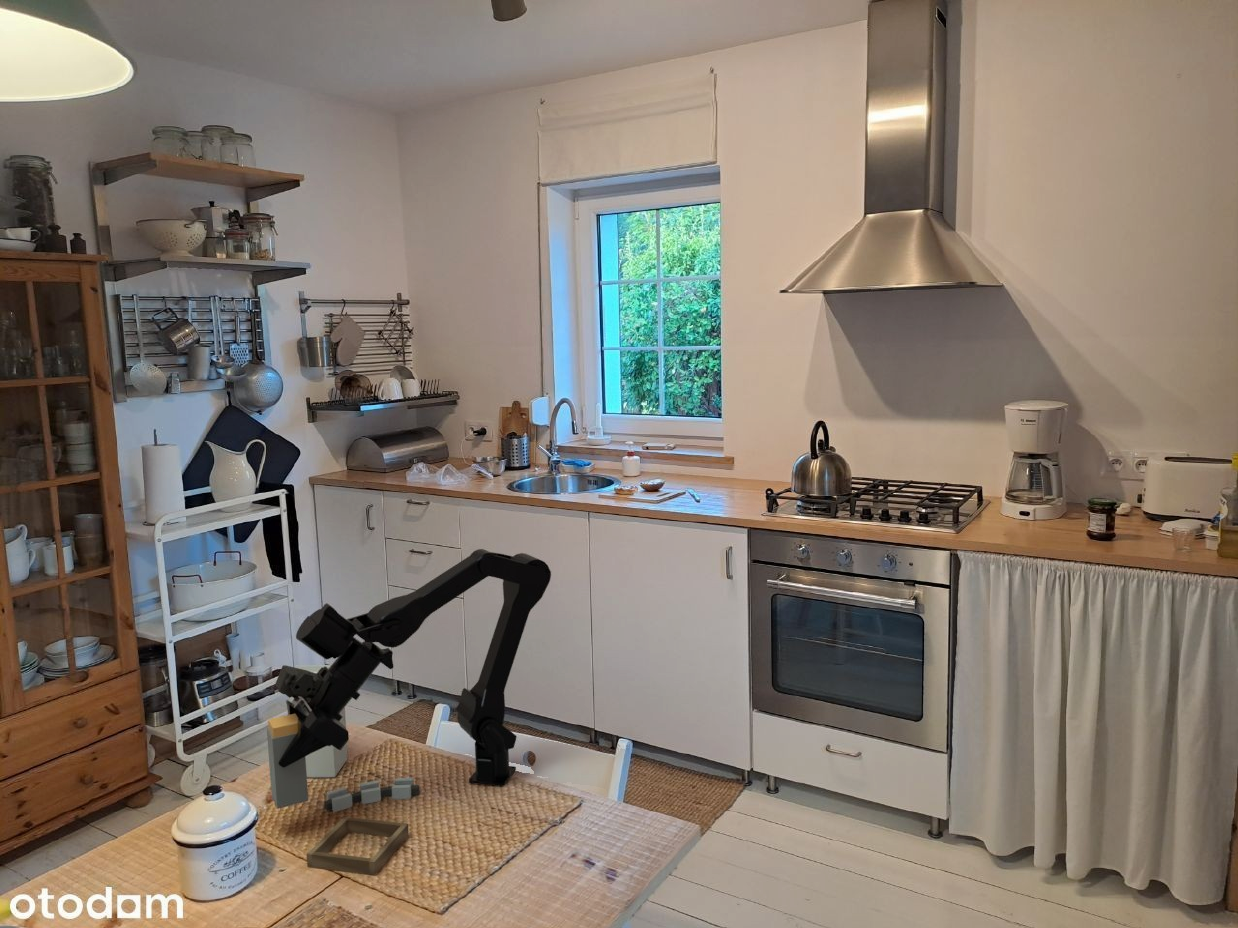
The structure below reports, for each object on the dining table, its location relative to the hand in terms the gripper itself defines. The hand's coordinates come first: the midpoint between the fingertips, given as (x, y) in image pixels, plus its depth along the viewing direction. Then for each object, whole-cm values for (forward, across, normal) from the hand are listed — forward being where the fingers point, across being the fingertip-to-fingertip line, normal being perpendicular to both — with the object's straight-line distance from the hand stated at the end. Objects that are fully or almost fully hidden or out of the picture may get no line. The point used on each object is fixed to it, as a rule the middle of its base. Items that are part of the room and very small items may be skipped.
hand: (277, 759), depth 136 cm
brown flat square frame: (+2, +11, +15) cm, 19 cm away
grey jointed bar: (-2, -3, +19) cm, 19 cm away
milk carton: (+1, -19, +16) cm, 25 cm away
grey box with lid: (+4, 0, +6) cm, 7 cm away
